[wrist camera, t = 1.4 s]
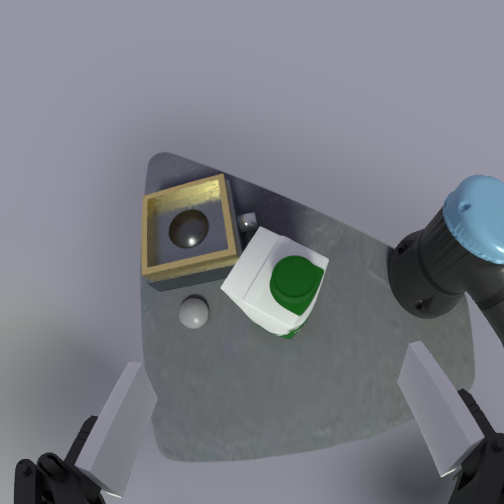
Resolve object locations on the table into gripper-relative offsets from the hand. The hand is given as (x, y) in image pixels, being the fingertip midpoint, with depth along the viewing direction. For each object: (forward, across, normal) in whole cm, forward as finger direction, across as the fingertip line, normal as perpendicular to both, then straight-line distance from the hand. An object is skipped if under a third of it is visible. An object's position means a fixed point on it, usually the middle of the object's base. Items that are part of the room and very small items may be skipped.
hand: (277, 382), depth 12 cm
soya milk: (+28, +2, -13) cm, 31 cm away
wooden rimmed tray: (+37, -11, -3) cm, 39 cm away
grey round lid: (+29, -13, -13) cm, 34 cm away
